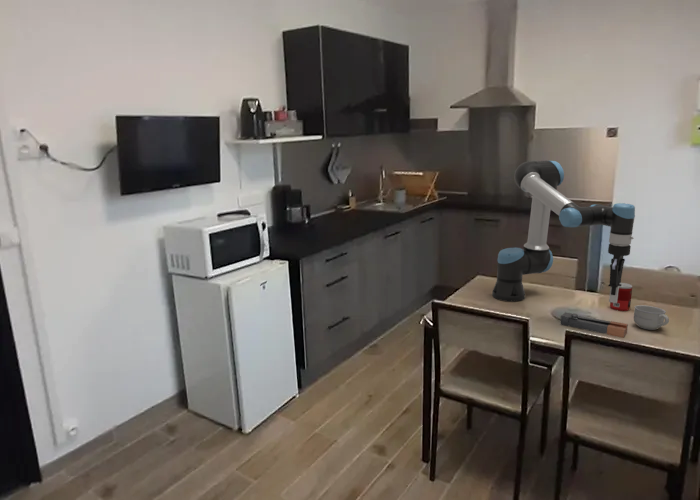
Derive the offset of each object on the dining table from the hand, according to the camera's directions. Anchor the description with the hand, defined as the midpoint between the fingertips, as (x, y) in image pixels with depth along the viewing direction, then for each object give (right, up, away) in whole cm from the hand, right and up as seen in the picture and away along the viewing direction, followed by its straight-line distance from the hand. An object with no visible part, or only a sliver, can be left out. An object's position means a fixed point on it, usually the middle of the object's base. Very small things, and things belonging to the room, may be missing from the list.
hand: (612, 301), depth 201 cm
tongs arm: (-5, -11, +2) cm, 12 cm away
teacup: (+16, -11, +2) cm, 19 cm away
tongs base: (-7, -11, +2) cm, 13 cm away
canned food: (+16, -6, +25) cm, 31 cm away
